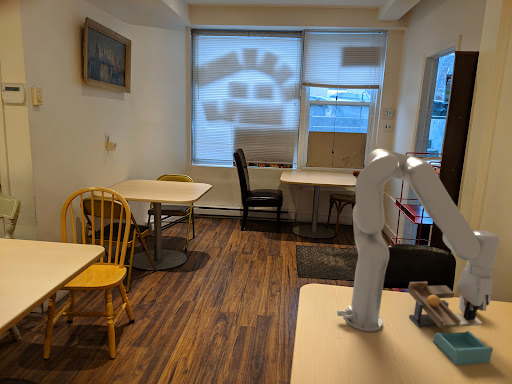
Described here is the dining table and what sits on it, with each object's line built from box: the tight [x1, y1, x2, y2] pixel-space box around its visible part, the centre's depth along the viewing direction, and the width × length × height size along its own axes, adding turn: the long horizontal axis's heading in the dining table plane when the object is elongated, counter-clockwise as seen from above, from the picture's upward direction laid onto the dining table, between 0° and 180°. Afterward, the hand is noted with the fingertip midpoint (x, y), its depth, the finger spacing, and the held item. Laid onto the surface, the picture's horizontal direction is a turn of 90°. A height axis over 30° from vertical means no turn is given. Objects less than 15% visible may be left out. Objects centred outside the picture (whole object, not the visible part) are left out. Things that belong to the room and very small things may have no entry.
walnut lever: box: [407, 281, 483, 329], centre depth 131 cm, size 16×20×4 cm
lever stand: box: [408, 299, 449, 328], centre depth 132 cm, size 12×6×8 cm, turn 99°
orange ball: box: [427, 295, 441, 307], centre depth 130 cm, size 4×4×4 cm
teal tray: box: [432, 330, 493, 366], centre depth 116 cm, size 12×11×5 cm
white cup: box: [458, 294, 466, 313], centre depth 141 cm, size 7×7×7 cm
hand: (469, 318), depth 125 cm, fingers closed
